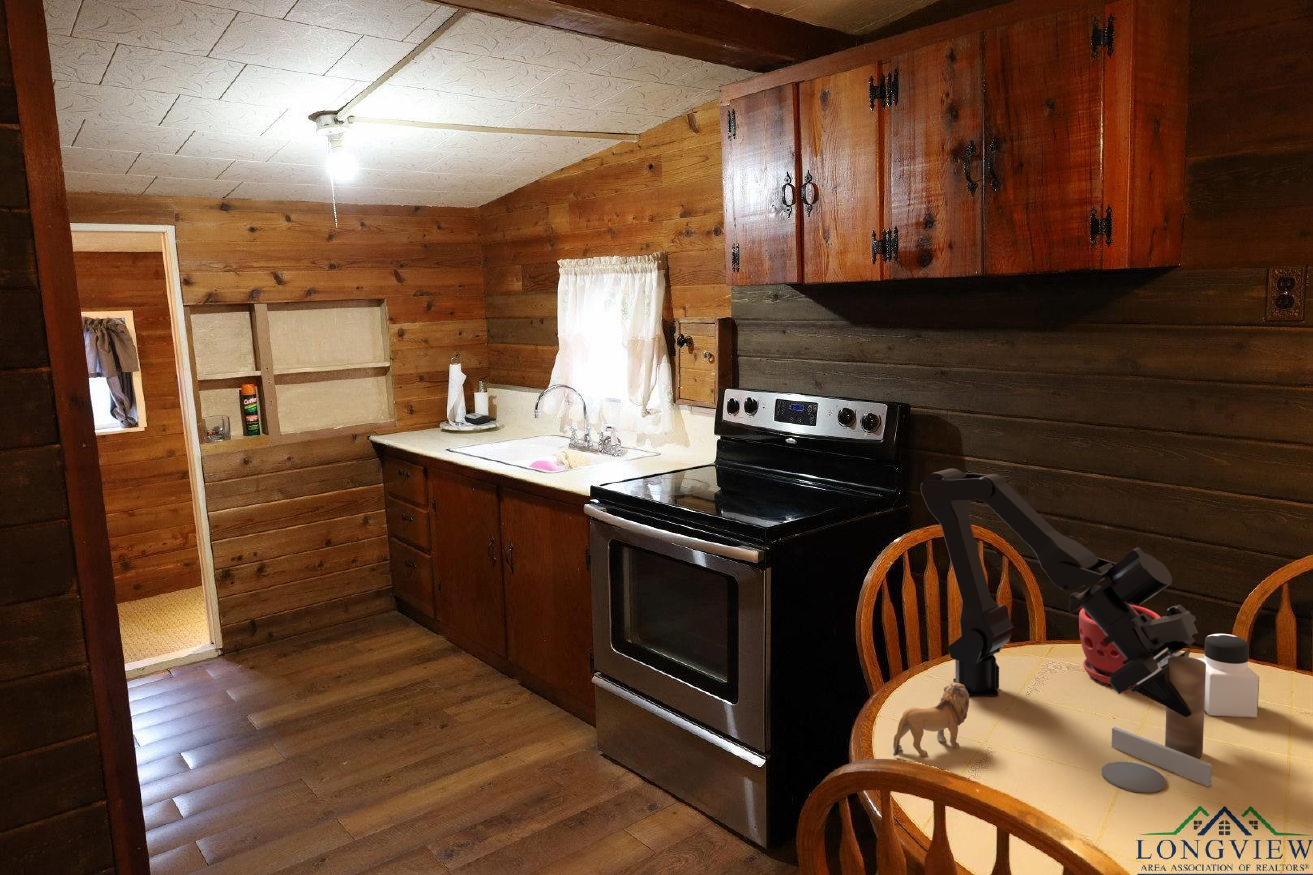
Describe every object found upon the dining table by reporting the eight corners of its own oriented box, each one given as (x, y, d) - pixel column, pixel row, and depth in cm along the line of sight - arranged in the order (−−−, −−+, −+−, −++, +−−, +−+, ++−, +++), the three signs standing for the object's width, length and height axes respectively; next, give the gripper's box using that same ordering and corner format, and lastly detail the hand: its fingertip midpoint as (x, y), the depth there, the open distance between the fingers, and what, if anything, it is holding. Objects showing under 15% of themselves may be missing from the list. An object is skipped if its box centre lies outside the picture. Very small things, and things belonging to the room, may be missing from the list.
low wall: (1111, 746, 134) (1112, 728, 133) (1114, 745, 134) (1115, 726, 134) (1207, 786, 122) (1208, 765, 121) (1211, 784, 122) (1211, 764, 122)
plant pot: (1068, 663, 166) (1069, 601, 164) (1142, 664, 164) (1144, 601, 162) (1092, 692, 153) (1093, 625, 151) (1173, 693, 151) (1175, 626, 150)
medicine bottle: (1258, 718, 141) (1261, 646, 139) (1208, 716, 142) (1211, 644, 141) (1238, 699, 148) (1241, 630, 146) (1191, 697, 149) (1194, 629, 148)
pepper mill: (1173, 760, 129) (1176, 668, 127) (1159, 744, 134) (1162, 655, 132) (1208, 760, 128) (1212, 668, 127) (1193, 745, 133) (1196, 656, 131)
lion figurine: (952, 728, 142) (952, 675, 141) (978, 741, 137) (978, 686, 136) (882, 752, 135) (881, 696, 134) (907, 767, 130) (906, 709, 129)
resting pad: (1114, 791, 121) (1114, 789, 121) (1093, 763, 129) (1093, 760, 129) (1176, 793, 120) (1176, 791, 120) (1151, 764, 128) (1151, 762, 128)
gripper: (1134, 606, 125) (1220, 704, 118) (1182, 578, 137) (1262, 664, 130) (1077, 646, 132) (1154, 740, 125) (1127, 615, 144) (1200, 700, 137)
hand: (1195, 709), depth 129 cm, fingers closed on pepper mill, 5 cm apart
